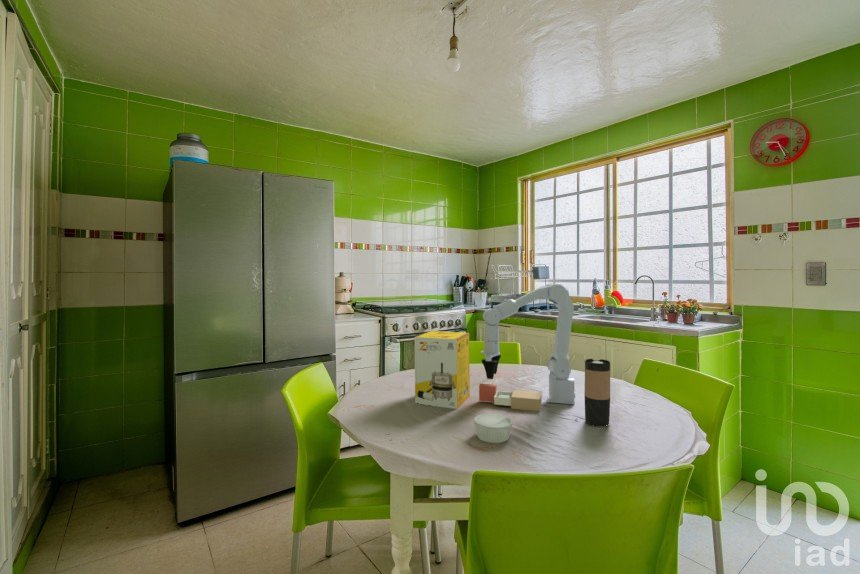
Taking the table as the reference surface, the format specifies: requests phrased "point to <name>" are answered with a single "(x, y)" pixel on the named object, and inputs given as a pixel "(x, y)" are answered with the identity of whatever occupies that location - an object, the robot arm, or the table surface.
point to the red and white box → (494, 395)
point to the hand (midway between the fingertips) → (491, 376)
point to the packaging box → (442, 369)
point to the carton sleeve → (526, 400)
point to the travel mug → (597, 392)
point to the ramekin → (493, 427)
